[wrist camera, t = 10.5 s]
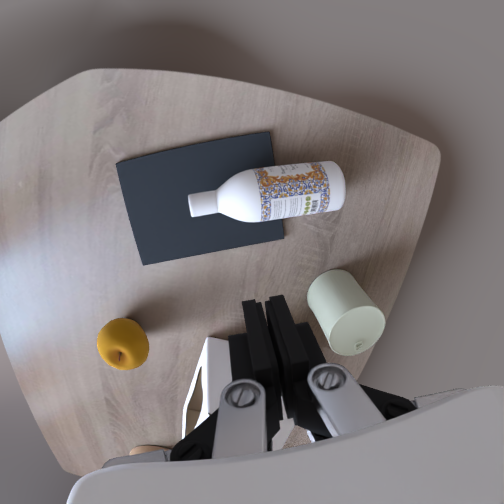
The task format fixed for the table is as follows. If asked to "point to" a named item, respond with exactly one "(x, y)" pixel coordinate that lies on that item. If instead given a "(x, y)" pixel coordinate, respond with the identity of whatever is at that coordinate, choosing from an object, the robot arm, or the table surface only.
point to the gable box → (217, 390)
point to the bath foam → (275, 193)
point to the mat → (177, 204)
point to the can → (345, 313)
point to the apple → (123, 344)
